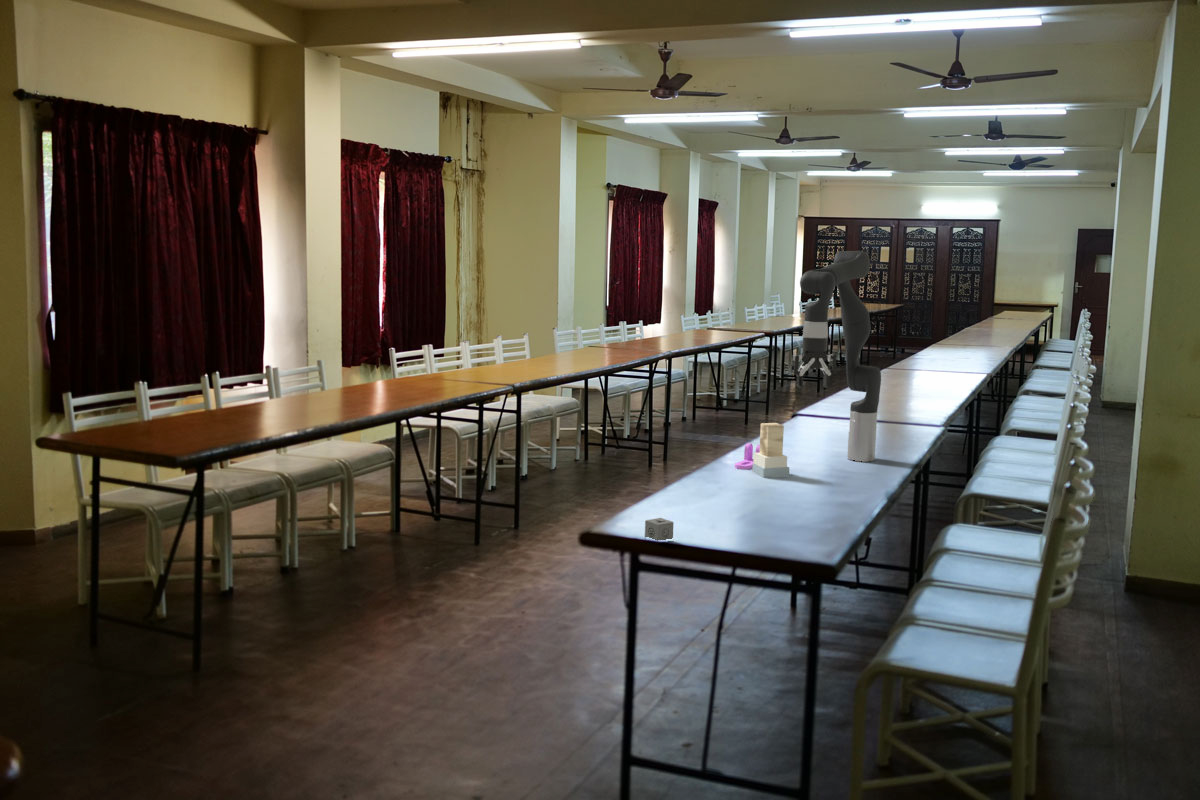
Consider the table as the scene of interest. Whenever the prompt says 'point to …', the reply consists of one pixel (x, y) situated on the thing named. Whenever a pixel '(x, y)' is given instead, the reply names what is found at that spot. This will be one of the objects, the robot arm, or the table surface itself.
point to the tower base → (770, 471)
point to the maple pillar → (771, 439)
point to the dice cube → (659, 529)
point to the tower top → (770, 461)
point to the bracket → (747, 457)
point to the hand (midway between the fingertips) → (812, 387)
